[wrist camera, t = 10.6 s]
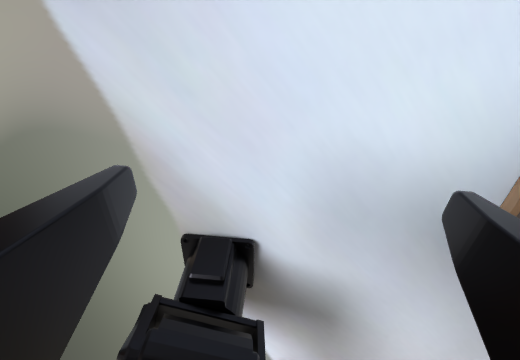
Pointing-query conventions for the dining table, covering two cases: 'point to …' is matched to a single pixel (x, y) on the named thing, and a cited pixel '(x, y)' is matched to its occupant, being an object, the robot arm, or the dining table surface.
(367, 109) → the dining table surface
